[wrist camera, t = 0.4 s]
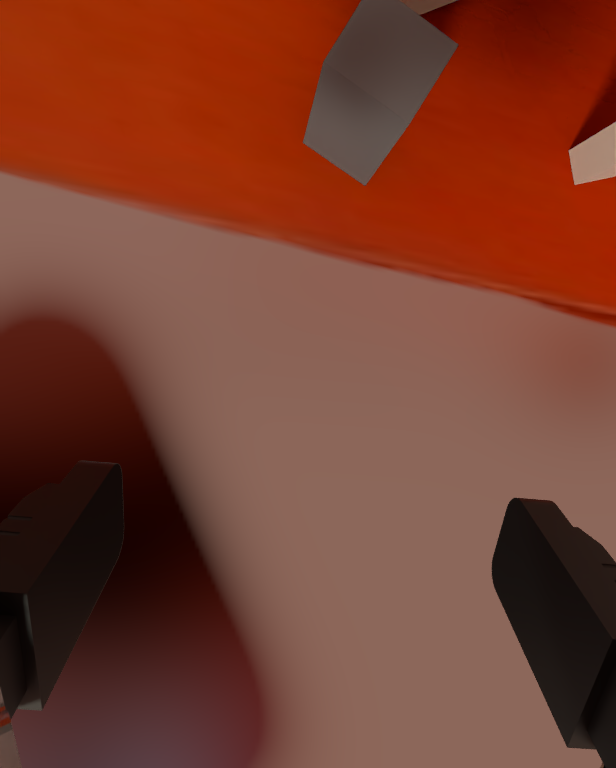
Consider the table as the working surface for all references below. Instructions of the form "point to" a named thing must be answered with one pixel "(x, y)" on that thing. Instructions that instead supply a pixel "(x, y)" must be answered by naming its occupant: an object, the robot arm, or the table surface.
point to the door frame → (595, 157)
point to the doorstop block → (374, 85)
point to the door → (425, 5)
